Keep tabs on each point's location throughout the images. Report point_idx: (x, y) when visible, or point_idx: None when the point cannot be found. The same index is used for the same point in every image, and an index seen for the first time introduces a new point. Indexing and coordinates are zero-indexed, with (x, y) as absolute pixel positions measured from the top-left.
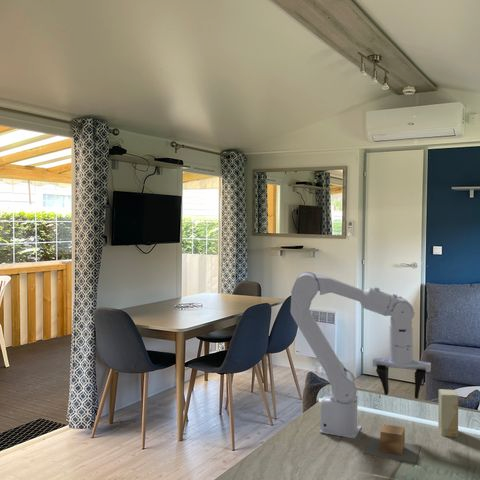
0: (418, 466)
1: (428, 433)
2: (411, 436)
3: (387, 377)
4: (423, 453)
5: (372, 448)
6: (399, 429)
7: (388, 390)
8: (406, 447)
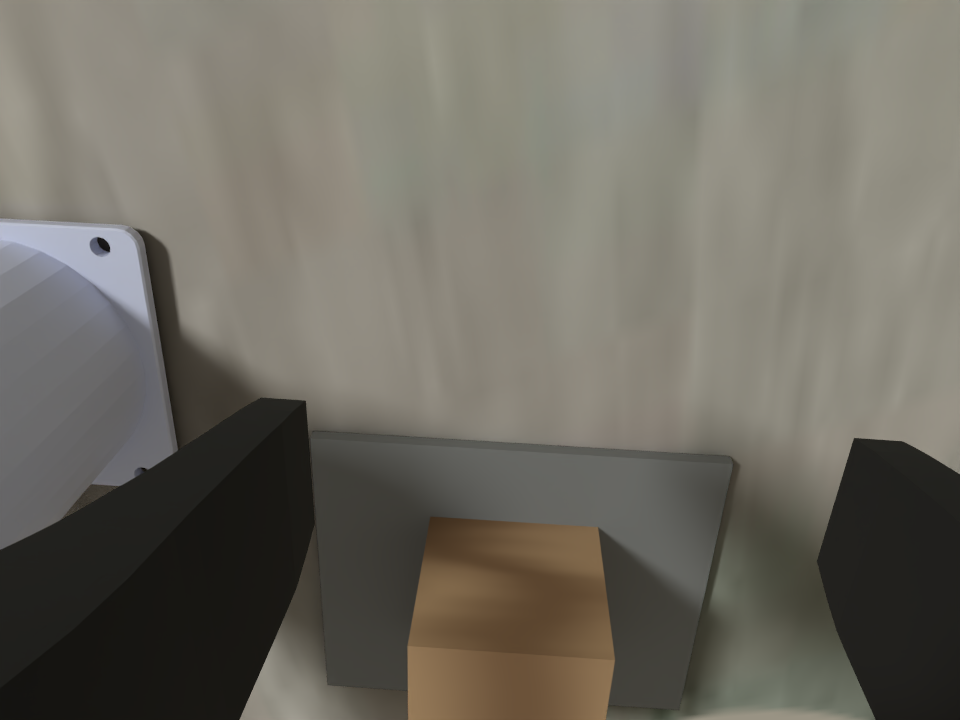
0: (696, 714)
1: (844, 101)
2: (653, 251)
3: (149, 667)
4: (744, 544)
5: (365, 610)
6: (567, 708)
7: (291, 423)
8: (613, 527)
